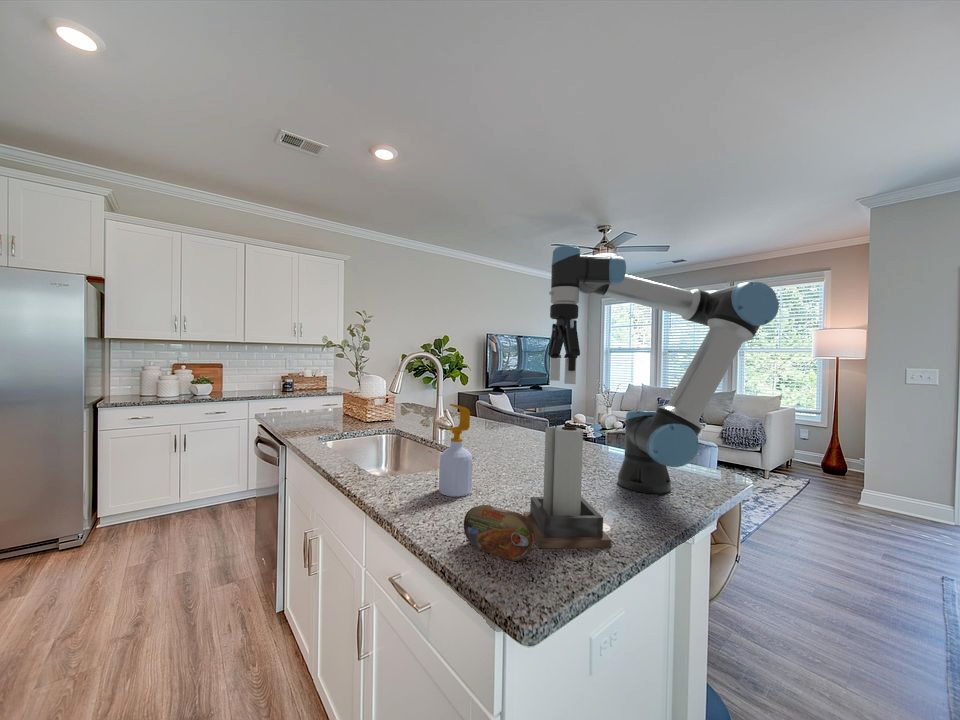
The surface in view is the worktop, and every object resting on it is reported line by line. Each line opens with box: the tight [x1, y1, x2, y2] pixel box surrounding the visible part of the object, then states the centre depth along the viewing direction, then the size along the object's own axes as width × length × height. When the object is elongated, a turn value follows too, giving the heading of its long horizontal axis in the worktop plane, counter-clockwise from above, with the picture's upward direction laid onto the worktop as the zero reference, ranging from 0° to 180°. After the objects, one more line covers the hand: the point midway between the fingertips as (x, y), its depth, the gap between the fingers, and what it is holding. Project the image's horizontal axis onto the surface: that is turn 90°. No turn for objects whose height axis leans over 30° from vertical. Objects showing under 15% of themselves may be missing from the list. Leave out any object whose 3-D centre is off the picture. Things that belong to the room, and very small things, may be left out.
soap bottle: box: [438, 403, 473, 498], centre depth 112 cm, size 9×9×25 cm
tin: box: [463, 504, 536, 562], centre depth 78 cm, size 15×3×8 cm, turn 56°
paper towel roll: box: [542, 426, 584, 516], centre depth 89 cm, size 7×6×21 cm
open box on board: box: [523, 496, 612, 549], centre depth 88 cm, size 15×15×6 cm
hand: (561, 382), depth 109 cm, fingers open, 13 cm apart
